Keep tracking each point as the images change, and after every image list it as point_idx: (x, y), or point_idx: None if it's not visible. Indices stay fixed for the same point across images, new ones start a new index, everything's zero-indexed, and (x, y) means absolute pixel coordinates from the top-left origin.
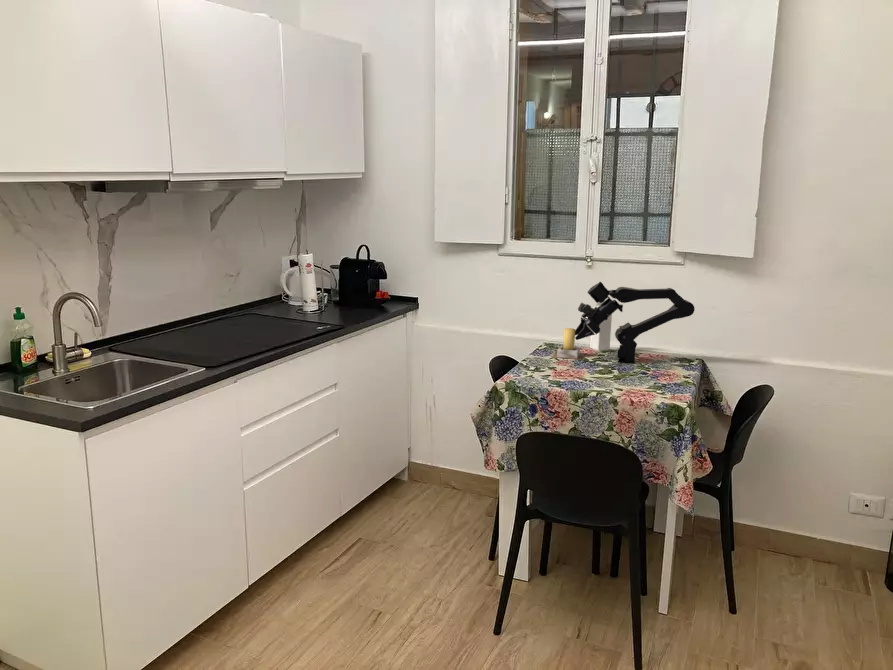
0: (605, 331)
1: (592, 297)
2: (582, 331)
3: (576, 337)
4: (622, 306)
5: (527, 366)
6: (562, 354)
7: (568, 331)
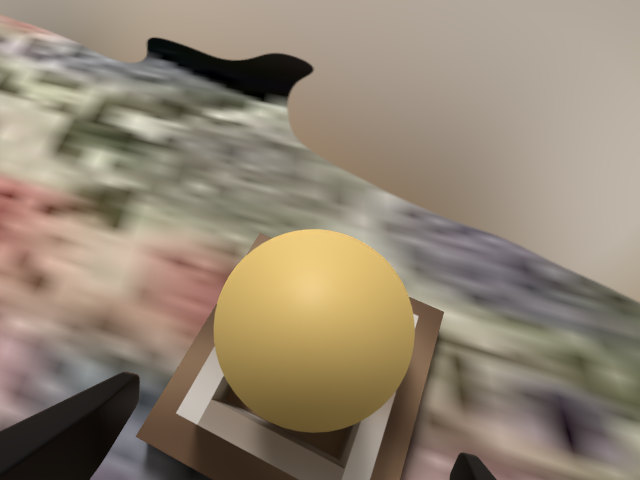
0: None
1: None
2: None
3: (102, 386)
4: None
5: (178, 114)
6: None
7: (236, 278)
